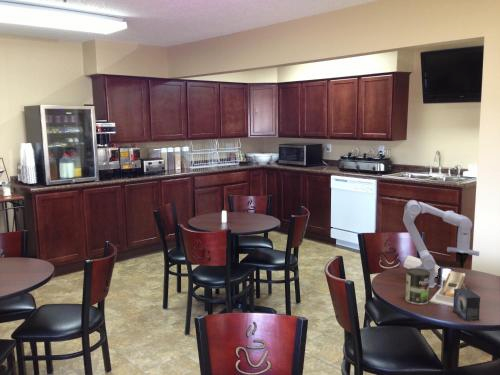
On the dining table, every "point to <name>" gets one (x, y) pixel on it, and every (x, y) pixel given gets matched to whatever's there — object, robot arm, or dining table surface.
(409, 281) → the coffee can
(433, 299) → the lever base
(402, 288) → the dining table surface
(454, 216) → the robot arm
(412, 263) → the crystal
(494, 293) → the dining table surface
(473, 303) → the small box
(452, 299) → the beige flat block
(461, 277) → the lever
